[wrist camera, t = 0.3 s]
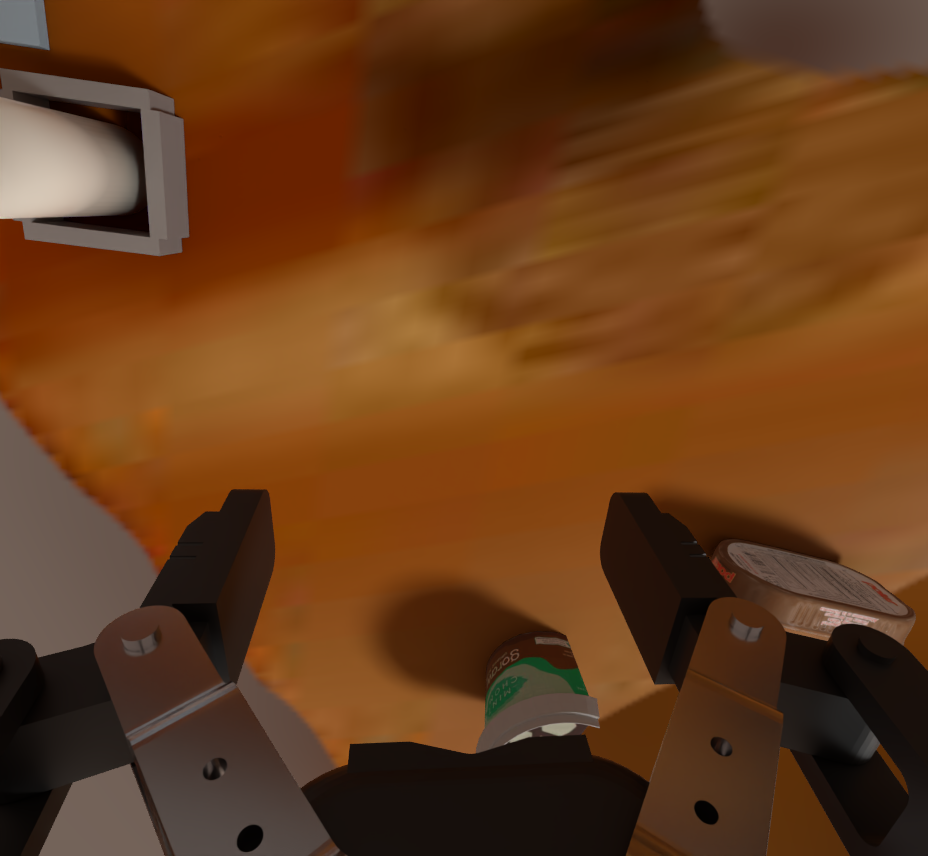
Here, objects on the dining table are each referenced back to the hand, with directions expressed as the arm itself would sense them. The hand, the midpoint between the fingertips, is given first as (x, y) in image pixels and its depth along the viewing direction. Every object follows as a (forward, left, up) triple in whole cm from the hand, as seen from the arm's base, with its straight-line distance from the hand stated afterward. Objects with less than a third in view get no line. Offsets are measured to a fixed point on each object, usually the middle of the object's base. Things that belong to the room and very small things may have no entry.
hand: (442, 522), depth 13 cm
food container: (+30, +9, -27) cm, 42 cm away
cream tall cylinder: (-6, -22, -27) cm, 35 cm away
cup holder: (-6, -22, -27) cm, 35 cm away
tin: (+17, +29, -28) cm, 44 cm away
